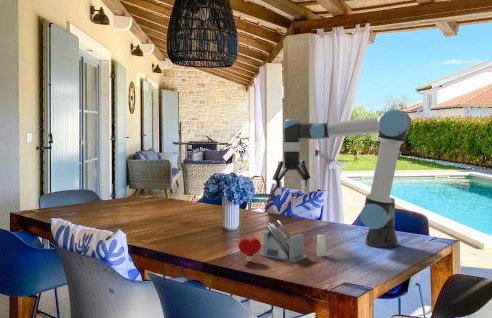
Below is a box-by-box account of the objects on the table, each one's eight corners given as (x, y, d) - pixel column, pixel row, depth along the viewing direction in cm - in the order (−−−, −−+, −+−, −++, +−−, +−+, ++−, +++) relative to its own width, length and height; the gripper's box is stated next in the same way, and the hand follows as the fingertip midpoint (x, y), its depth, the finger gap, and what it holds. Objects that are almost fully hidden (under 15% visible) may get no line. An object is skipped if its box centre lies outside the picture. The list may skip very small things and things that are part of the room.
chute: (307, 257, 211) (307, 222, 210) (295, 262, 203) (295, 226, 202) (272, 251, 221) (272, 218, 220) (259, 255, 213) (260, 221, 212)
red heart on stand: (260, 259, 207) (260, 236, 206) (261, 264, 200) (261, 239, 199) (238, 259, 206) (238, 236, 206) (238, 264, 199) (238, 240, 199)
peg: (326, 255, 214) (326, 235, 213) (322, 257, 211) (323, 236, 210) (319, 254, 216) (319, 234, 215) (315, 256, 213) (315, 235, 212)
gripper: (308, 150, 248) (308, 191, 249) (265, 151, 238) (265, 194, 239) (317, 150, 242) (317, 193, 243) (273, 151, 231) (273, 196, 232)
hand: (291, 193), depth 241 cm, fingers open, 13 cm apart
